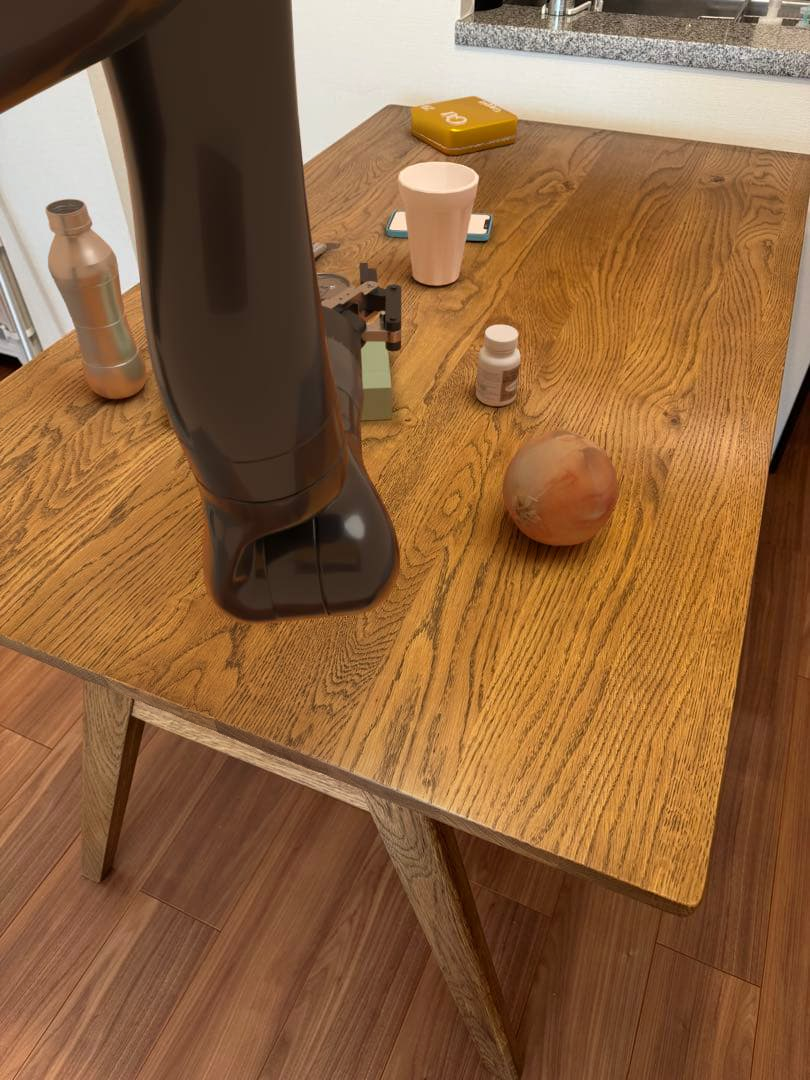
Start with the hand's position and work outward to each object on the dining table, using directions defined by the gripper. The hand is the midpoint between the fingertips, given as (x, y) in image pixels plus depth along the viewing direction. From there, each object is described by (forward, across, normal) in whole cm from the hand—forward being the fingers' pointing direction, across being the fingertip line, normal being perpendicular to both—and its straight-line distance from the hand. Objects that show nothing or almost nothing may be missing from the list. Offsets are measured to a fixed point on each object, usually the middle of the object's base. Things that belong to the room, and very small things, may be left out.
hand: (312, 274), depth 65 cm
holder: (+11, +5, +19) cm, 22 cm away
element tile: (+90, -24, +19) cm, 95 cm away
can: (+11, 0, +19) cm, 22 cm away
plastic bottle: (+12, +23, +19) cm, 32 cm away
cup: (+36, -14, +19) cm, 43 cm away
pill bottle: (+8, -18, +19) cm, 27 cm away
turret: (+37, +7, +19) cm, 42 cm away
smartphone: (+51, -16, +19) cm, 57 cm away
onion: (-13, -20, +18) cm, 30 cm away
